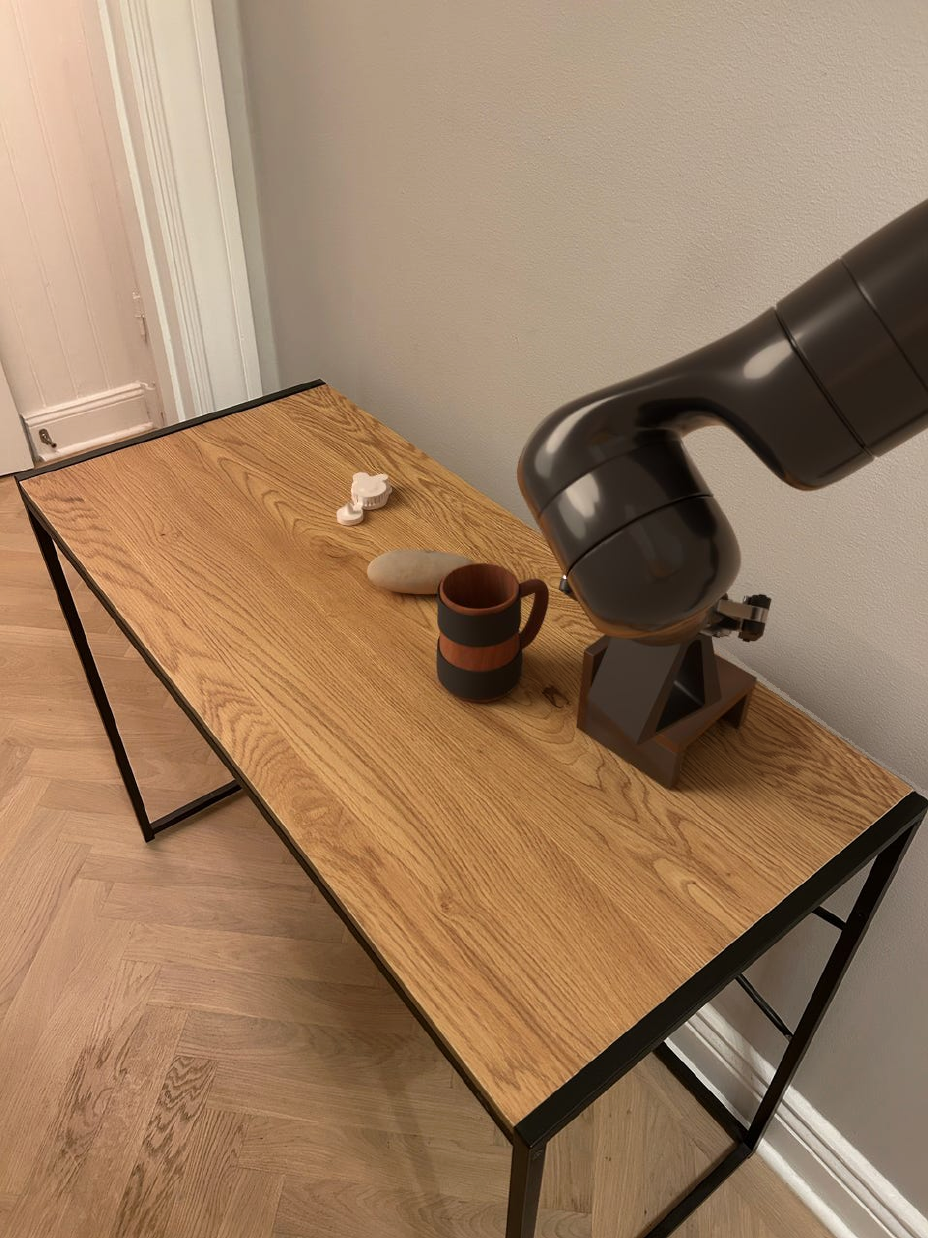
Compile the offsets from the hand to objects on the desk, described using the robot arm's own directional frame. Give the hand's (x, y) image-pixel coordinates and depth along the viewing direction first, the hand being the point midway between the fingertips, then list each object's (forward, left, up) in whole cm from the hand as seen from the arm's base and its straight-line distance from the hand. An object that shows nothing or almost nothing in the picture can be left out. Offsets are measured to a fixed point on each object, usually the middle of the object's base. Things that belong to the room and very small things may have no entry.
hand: (670, 612), depth 71 cm
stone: (+35, -5, -20) cm, 40 cm away
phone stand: (-1, +1, -8) cm, 8 cm away
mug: (+20, -1, -20) cm, 28 cm away
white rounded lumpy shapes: (+54, -12, -20) cm, 59 cm away
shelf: (+3, -7, -20) cm, 21 cm away
